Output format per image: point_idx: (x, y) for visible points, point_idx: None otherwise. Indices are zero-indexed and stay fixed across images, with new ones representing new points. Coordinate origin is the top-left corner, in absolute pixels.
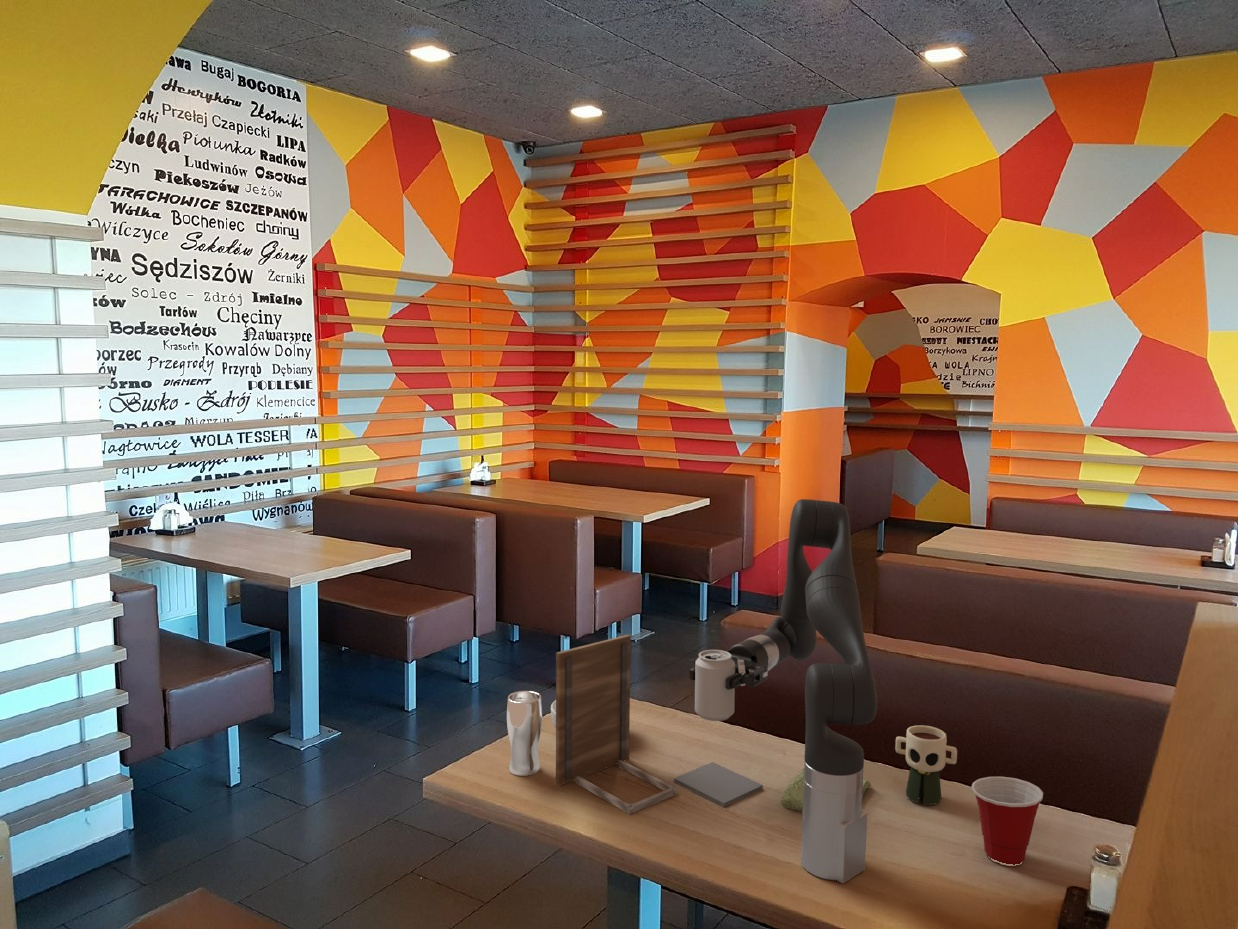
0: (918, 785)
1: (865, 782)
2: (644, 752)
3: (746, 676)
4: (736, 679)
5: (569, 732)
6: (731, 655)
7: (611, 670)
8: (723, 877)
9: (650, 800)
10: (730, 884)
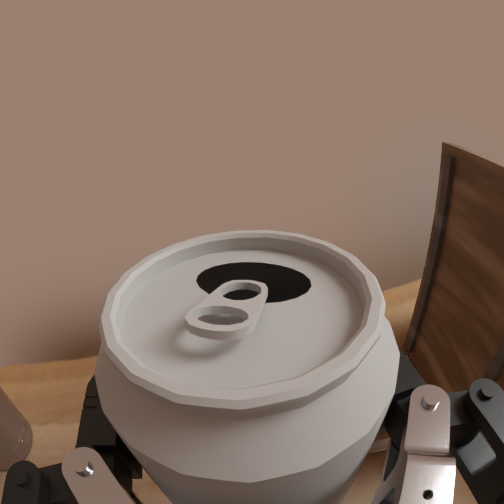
0: None
1: None
2: (470, 492)
3: (58, 466)
4: (88, 397)
5: (424, 289)
6: (113, 359)
7: None
8: (96, 363)
9: None
10: (86, 359)
